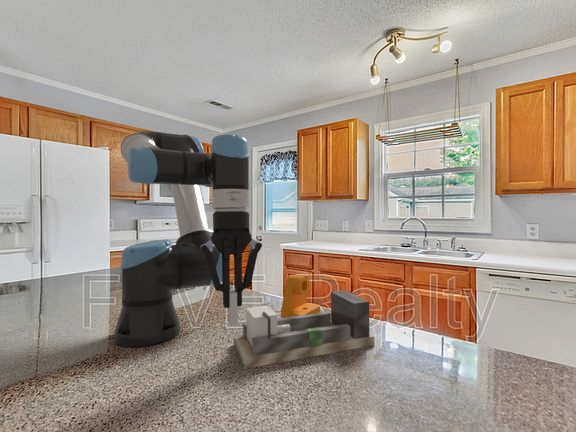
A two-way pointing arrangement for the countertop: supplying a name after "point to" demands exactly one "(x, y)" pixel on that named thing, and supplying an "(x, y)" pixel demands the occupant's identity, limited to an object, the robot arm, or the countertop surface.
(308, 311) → the bracket
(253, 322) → the gauge carriage
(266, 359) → the base
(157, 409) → the countertop surface
